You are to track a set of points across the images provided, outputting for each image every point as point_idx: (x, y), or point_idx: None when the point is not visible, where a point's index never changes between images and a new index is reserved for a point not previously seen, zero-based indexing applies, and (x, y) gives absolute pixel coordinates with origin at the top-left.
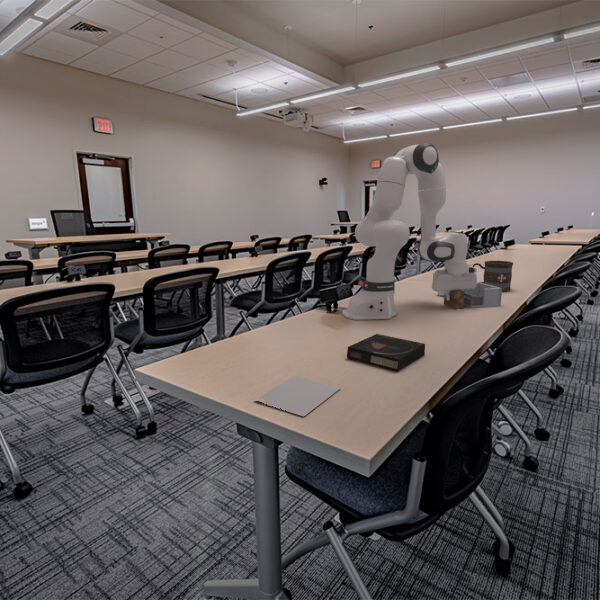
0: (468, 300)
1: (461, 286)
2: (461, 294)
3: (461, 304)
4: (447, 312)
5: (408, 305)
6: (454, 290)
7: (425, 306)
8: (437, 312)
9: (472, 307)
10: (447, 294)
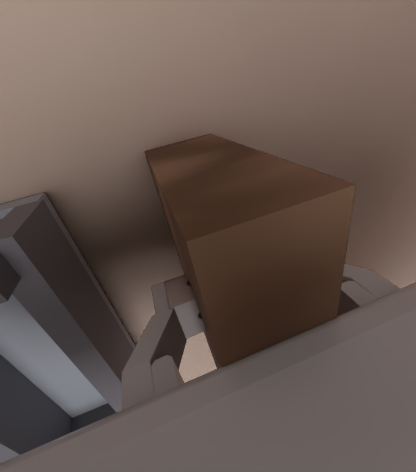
0: (54, 267)
1: (203, 462)
2: (224, 191)
3: (172, 154)
4: (338, 21)
5: (412, 255)
6: (333, 298)
7: (357, 239)
8: (406, 40)
9: (22, 199)
10: (347, 265)
